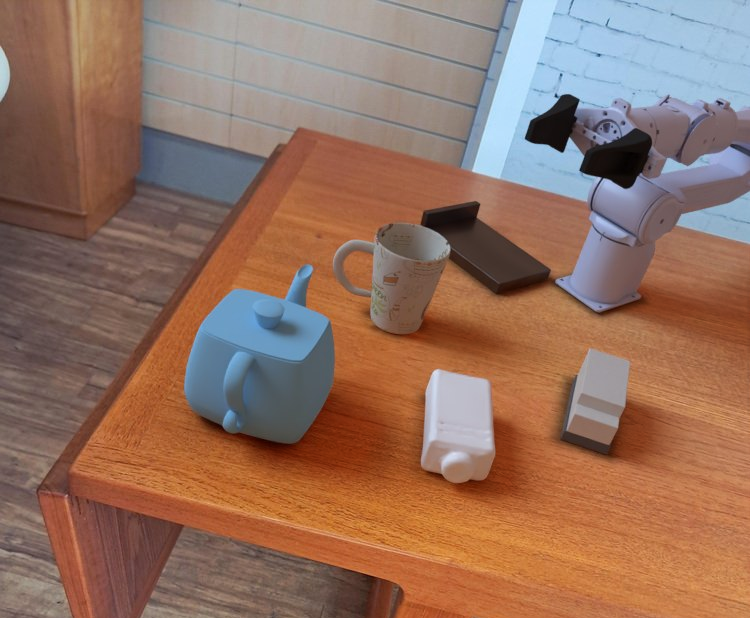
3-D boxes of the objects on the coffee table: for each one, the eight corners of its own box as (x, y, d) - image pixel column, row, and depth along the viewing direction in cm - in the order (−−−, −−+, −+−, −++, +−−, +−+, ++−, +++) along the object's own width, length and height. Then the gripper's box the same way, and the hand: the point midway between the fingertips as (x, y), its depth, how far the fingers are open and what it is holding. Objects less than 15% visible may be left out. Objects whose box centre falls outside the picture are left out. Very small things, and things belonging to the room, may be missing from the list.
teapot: (351, 371, 83) (370, 275, 75) (290, 477, 70) (305, 374, 62) (242, 335, 84) (249, 236, 76) (162, 433, 71) (161, 326, 63)
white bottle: (417, 483, 73) (428, 449, 70) (423, 398, 82) (432, 365, 79) (485, 496, 73) (498, 463, 70) (483, 411, 82) (495, 378, 79)
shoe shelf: (469, 223, 113) (475, 200, 111) (547, 279, 105) (556, 255, 103) (417, 234, 108) (423, 210, 105) (496, 294, 100) (504, 269, 98)
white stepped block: (572, 382, 89) (588, 346, 85) (614, 396, 88) (632, 360, 85) (560, 439, 81) (577, 401, 78) (606, 455, 81) (626, 418, 77)
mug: (424, 348, 88) (445, 268, 81) (317, 319, 89) (329, 237, 82) (434, 311, 94) (455, 234, 87) (334, 284, 95) (347, 205, 88)
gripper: (598, 73, 88) (519, 77, 80) (704, 125, 81) (628, 135, 73) (574, 137, 93) (498, 146, 85) (672, 191, 86) (599, 207, 78)
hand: (556, 146), depth 79 cm, fingers open, 7 cm apart
